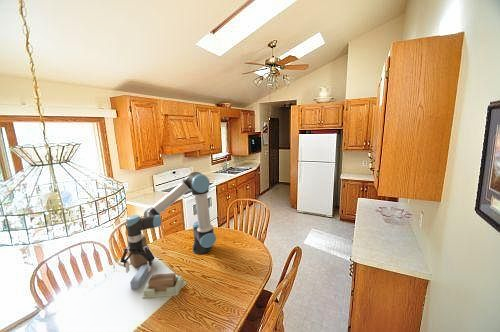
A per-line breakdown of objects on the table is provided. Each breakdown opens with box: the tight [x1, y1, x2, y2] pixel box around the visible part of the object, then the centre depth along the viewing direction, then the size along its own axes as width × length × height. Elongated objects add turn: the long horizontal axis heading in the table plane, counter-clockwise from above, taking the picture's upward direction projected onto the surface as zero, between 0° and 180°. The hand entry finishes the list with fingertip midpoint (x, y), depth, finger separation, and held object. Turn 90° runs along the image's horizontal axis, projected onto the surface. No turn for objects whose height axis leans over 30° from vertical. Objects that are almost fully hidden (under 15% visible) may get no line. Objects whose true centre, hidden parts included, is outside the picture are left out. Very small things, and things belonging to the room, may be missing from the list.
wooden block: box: [126, 233, 148, 268], centre depth 151 cm, size 10×10×20 cm
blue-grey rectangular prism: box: [130, 264, 150, 290], centre depth 135 cm, size 16×4×5 cm, turn 4°
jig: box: [141, 275, 184, 299], centre depth 126 cm, size 13×20×4 cm, turn 94°
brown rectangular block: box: [147, 272, 177, 292], centre depth 125 cm, size 6×14×7 cm, turn 95°
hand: (138, 270), depth 134 cm, fingers open, 13 cm apart
